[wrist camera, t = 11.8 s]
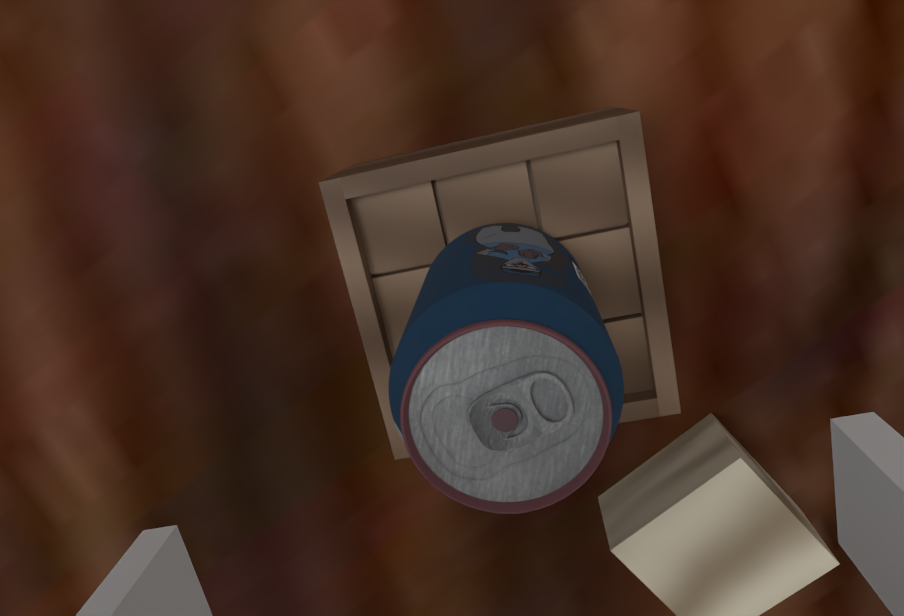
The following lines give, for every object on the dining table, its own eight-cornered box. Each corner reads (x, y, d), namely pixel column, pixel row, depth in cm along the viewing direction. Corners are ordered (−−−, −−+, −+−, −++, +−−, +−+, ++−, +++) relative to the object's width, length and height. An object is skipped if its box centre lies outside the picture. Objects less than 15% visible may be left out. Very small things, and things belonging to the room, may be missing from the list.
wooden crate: (353, 164, 35) (318, 182, 28) (612, 106, 33) (639, 111, 26) (413, 396, 38) (394, 459, 32) (648, 355, 37) (681, 413, 30)
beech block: (597, 495, 40) (610, 550, 35) (710, 410, 38) (740, 457, 33) (684, 582, 41) (708, 647, 36) (798, 506, 39) (839, 564, 34)
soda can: (468, 393, 31) (449, 566, 20) (396, 260, 30) (331, 366, 18) (610, 331, 30) (676, 478, 19) (542, 188, 28) (570, 254, 17)
